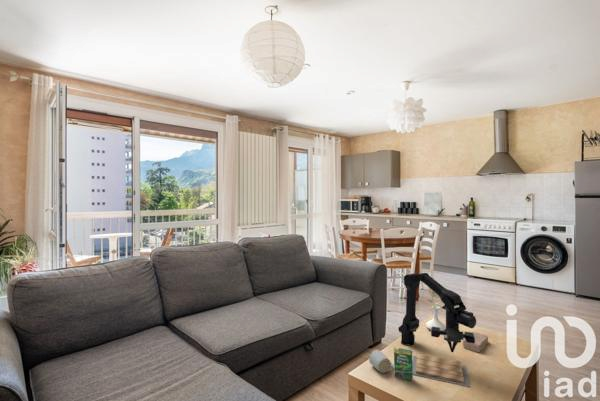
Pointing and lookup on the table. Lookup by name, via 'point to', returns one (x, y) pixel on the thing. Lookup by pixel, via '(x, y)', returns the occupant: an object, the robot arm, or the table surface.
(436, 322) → the flower in vase
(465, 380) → the underlay
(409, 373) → the coffee box
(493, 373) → the table surface
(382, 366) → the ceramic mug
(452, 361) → the click plank
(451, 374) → the laid board
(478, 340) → the brick
